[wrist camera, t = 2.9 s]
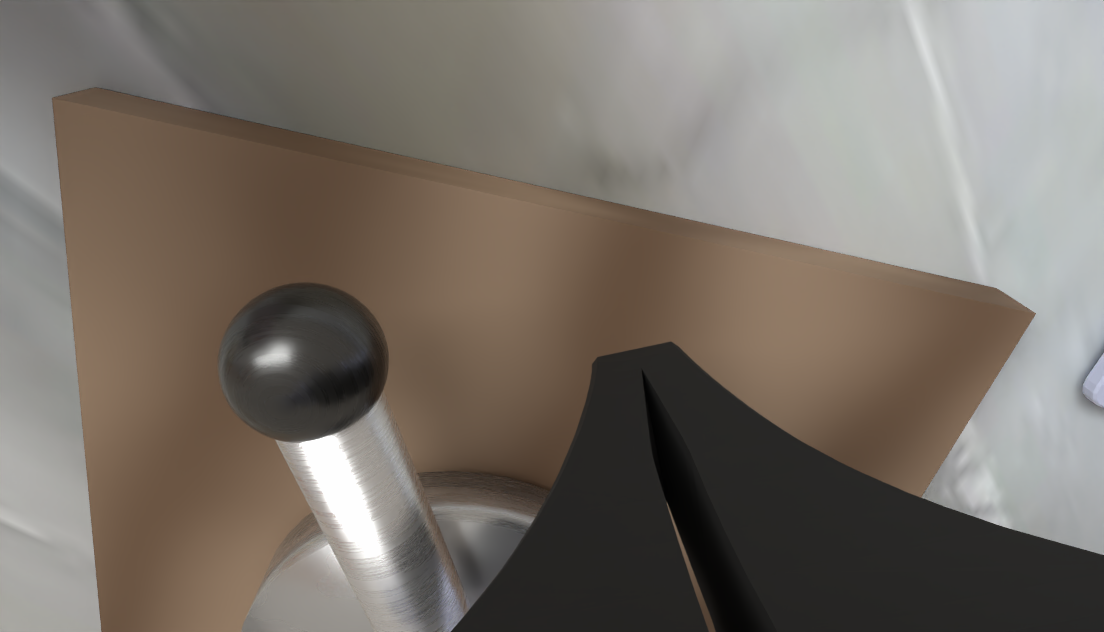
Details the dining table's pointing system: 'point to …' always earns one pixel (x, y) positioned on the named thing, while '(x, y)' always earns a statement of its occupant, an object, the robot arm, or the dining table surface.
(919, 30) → the dining table surface
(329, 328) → the ball knob lever
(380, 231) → the stand
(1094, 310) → the dining table surface
